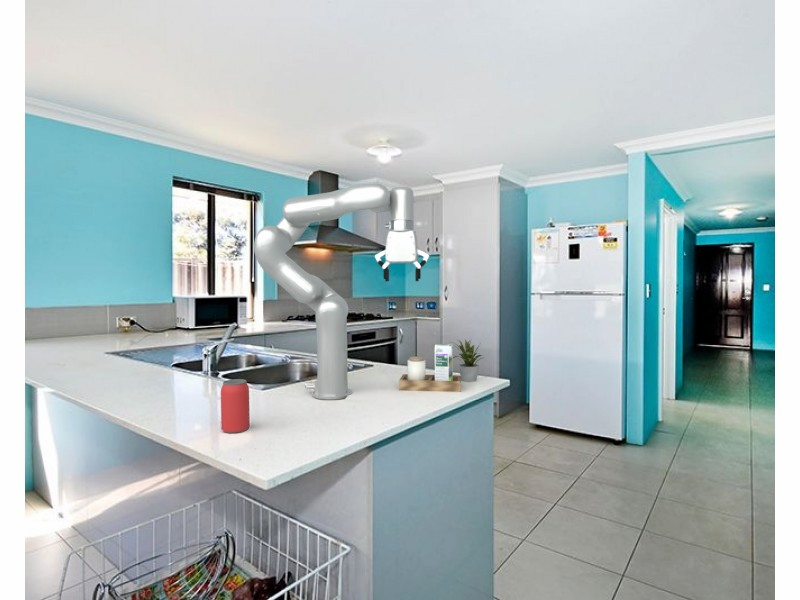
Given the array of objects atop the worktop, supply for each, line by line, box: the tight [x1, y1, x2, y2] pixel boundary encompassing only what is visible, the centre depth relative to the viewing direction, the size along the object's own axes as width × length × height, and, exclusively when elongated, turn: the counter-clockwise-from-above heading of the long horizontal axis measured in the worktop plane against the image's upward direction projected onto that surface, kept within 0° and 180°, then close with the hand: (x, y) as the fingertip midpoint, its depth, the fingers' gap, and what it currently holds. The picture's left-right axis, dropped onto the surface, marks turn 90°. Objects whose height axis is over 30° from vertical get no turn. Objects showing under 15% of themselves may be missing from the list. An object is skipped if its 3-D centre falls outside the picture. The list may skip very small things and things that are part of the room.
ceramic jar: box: [407, 355, 426, 380], centre depth 158 cm, size 6×6×10 cm
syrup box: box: [434, 343, 454, 381], centre depth 157 cm, size 6×6×14 cm
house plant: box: [450, 339, 484, 383], centre depth 169 cm, size 14×14×16 cm
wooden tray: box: [398, 373, 462, 393], centre depth 158 cm, size 20×10×4 cm, turn 82°
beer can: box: [220, 378, 251, 434], centre depth 116 cm, size 7×7×12 cm
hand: (402, 281), depth 150 cm, fingers open, 9 cm apart
